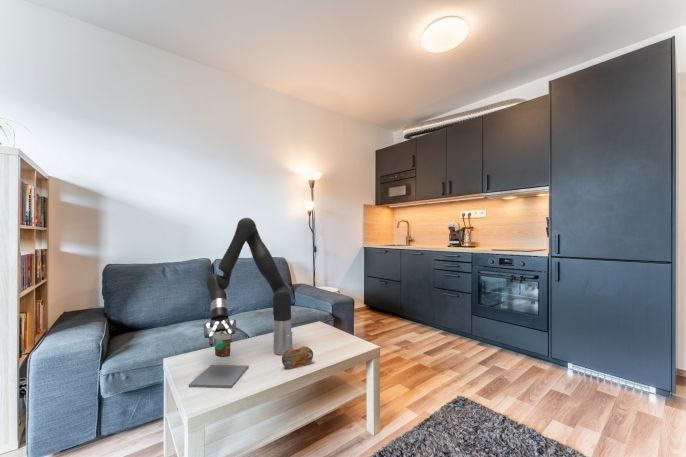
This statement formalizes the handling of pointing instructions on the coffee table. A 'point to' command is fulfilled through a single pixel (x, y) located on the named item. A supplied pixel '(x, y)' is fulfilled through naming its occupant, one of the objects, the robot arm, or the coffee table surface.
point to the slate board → (219, 376)
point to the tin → (297, 357)
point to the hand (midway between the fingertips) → (220, 344)
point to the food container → (222, 343)
